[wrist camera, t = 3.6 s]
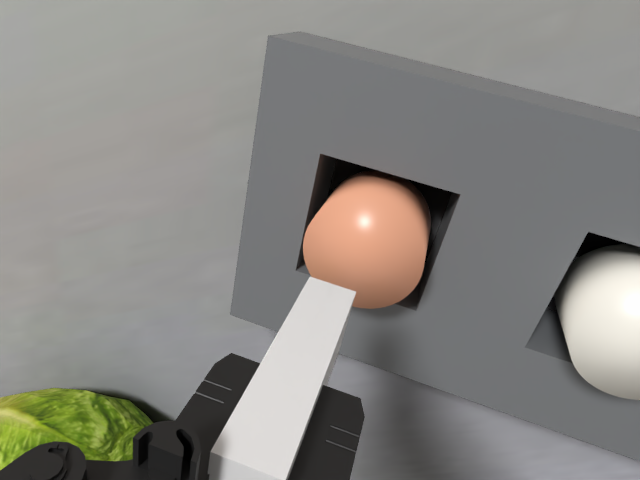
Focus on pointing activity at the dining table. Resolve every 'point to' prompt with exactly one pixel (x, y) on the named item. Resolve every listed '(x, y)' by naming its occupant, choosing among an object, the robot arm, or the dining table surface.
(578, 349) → the cream button
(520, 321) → the button console
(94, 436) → the lettuce
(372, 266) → the peach rounded knob
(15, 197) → the dining table surface
